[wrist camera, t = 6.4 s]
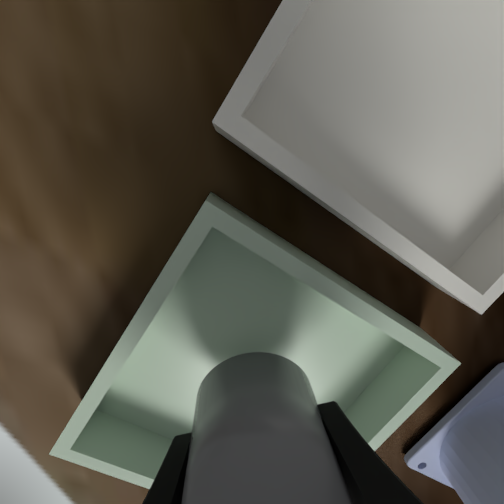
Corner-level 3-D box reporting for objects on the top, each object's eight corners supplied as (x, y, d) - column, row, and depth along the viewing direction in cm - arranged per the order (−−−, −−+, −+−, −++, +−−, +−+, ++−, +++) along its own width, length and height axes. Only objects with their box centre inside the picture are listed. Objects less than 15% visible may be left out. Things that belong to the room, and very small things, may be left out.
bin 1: (652, 40, 11) (778, 5, 8) (434, 286, 13) (481, 314, 11) (439, -250, 8) (534, -432, 6) (215, 130, 11) (212, 121, 8)
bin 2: (420, 327, 14) (461, 363, 12) (280, 481, 17) (289, 537, 14) (210, 191, 11) (205, 200, 9) (81, 401, 14) (48, 454, 11)
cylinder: (335, 393, 11) (409, 557, 7) (258, 460, 12) (276, 649, 8) (250, 329, 10) (267, 475, 6) (172, 409, 11) (128, 594, 6)
